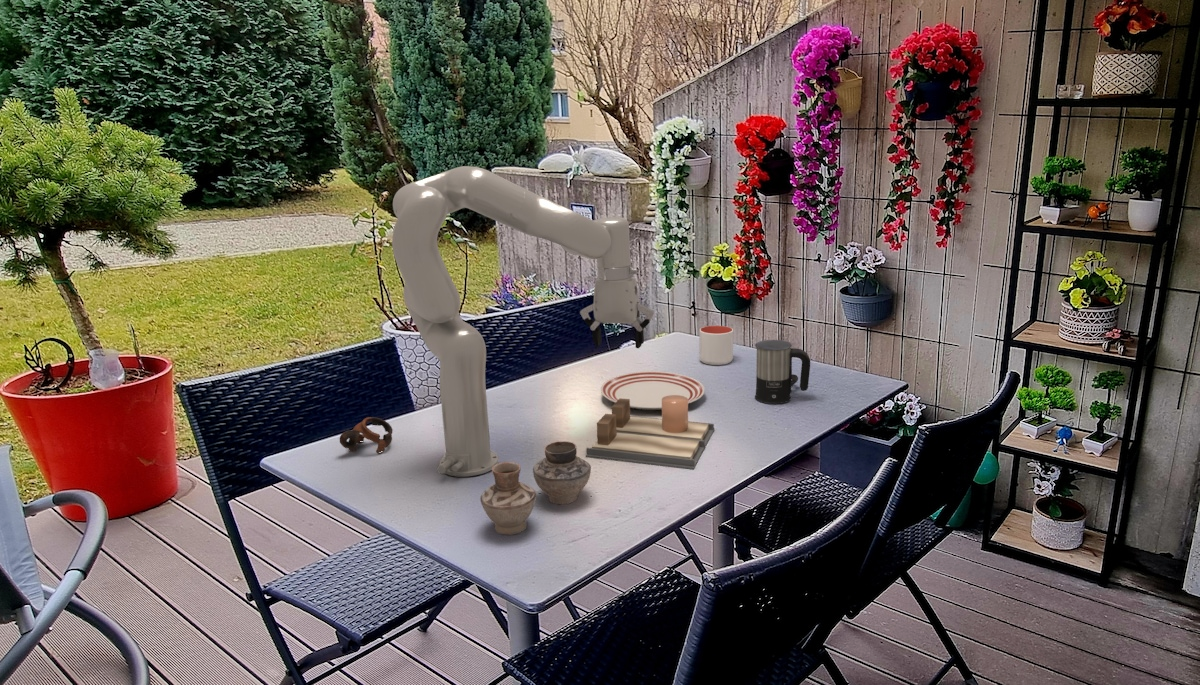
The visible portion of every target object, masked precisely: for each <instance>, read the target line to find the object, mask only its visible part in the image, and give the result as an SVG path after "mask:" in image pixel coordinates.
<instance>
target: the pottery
mask: <svg viewBox="0 0 1200 685" xmlns="http://www.w3.org/2000/svg"><path fill="white" fill-rule="evenodd" d="M577 450H578V448H577V444H576V443H575V442H572V441H567V440H562V441H561V440H560V441H559V440H557V441H553V442H550V443H548V444H547V445H546V446H544V453H545V454H544V455H545V457H544V458H543V459H541V460H539V461H537V463H535V465H534V466H533V468H532V473H533V478H534V481H535V482H536V485H537V486H538V487H539V489H540V490H541V491H542V492H544V494H546V495H548V500H549V501H550V502H551V503H553V504H556V505H568V503H569V504H571V502H572V503H574V502H575V501H576V500H577V499H578V497H579V493H580V492H582V490H583V489H584V488H585V487H586V486H587V484H588V482H589V480H590V477H591V472H592V466H591V464H590V463H589V462H588V461H586V460H585V459H583V458H582V457H580V456H577V453H578V451H577ZM521 467H522V466H521V465H520V464H519V463H517V462H513V461H503V462H498V464H496V465H494V466H493V467H492V470H491V471H492V475H493V477H494V482H495V483H494V484H492V485H491V486H489V487H488V488H486V489H485V490H484V491H483V492H482V493H481V495H480V499H479V500H480V503H481V506H482V509H483V510H484V512H485V514H486V515H487V517H488V518H489V520H490V521H491V522H493V523H494V529H495V532H497V533H498V534H500V535H506V536H507V535H508V536H510V535H516V533H517V534H520V533H521V531H522V532H523V531H525V530H526V529H527V526H528V525H527V519H528V518H529V516H530V515H531V513H532V511H533V509H534V506H535V502H536V498H537V493H536V491H535V490H534V488H532V487H531V486H529V485H528V484H525V483H523V482H521V481H520V480H519V479H520V473H521ZM573 501H574V502H573Z"/></svg>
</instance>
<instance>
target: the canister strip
mask: <svg viewBox="0 0 1200 685" xmlns="http://www.w3.org/2000/svg"><path fill="white" fill-rule="evenodd" d="M611 414H615V415H616V431H617V432H626V433H636V434H646V435H656V436H665V437H675V438H685V439H695V440H703V438H704V437H705V435H706V433H707V431H708V429H709V424H704V423H705V422H701V423H694V422H695V421H690V422H688V430H687V431H685V432H681V433H669V432H666V431H664V430H662V418H658V419H652V418H653V417H648V418H641V417H642V416H637V417H630V416H631V408H630V399H622V398H620V399H619V400H618V401H617V402H616V403H614V404H613V405H612V406H611Z"/></svg>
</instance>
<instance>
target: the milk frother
mask: <svg viewBox="0 0 1200 685" xmlns="http://www.w3.org/2000/svg"><path fill="white" fill-rule="evenodd" d="M792 345H793V344H792V342H790V341H787V340H781V339H765V340H760V341H757V342H756V343H755V344H754V346H755V349H756V373H755V374H756V377H755V378H756V381H755V382H756V384H755V395H754V399H755V400H756V401H758V402H760V403H763V404H769V405H776V404H777V405H779V404H785V403H789V401H791V399H792V396H791V395H792V387H793V386H794V385H795V384H796V383H797V382H798V380H799V376H798V375H796V374H793V372H792V371H793V368H792V367H793V366H792V364H793V361H792V359H793V358H798V359H800V360H801V369H800V380H799V388H800V390H801V391H802V392H806V391H808V388H809V381H810V372H811V358H810V356H809V354H808V353H807V351H805V350H803V349H802V348H794V347H793V348H792Z"/></svg>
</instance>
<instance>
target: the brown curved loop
mask: <svg viewBox="0 0 1200 685" xmlns="http://www.w3.org/2000/svg"><path fill="white" fill-rule="evenodd" d="M368 423H371V425H372V426H377V427H378V426H380V427H381V426H382V428H384V431H385V432H386V433H385V434H383V436H382V438H381V435H380V434H379V433H377V432H374V431H373V430H371V429H370V428H368V427H367V424H368ZM392 434H393V427H392V425H391V424H390V422H388V421H386V420H384V419H382V418H380V417H376V416H375V417H374V416H372V417H371V416H370V417H369V416H367V417H366V418H365V417H364V418H363V420H362V421H361V422H359V423H357V424H356V425H355V426H353V428H352V429H351V430H350V429H348V430H345V431H344V432H342V433H341V434H340V437H339V444H340V445H341V447H343V448H345V449H348V451H349V450H350V451H349V452H354V453H355V452H356V449H357V448H356V447H357V444H359V443H358V442H360V441H363V442H364V441H365V439H366V440H369V441H371V442H373V443H374V444H377V448H376V450H375V451H376V453H377V454H379V453H378V452H381V451H383V452H384V451H385V449H387V448H388V447H389V446H390V445H391V443H392V441H393V436H392Z"/></svg>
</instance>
